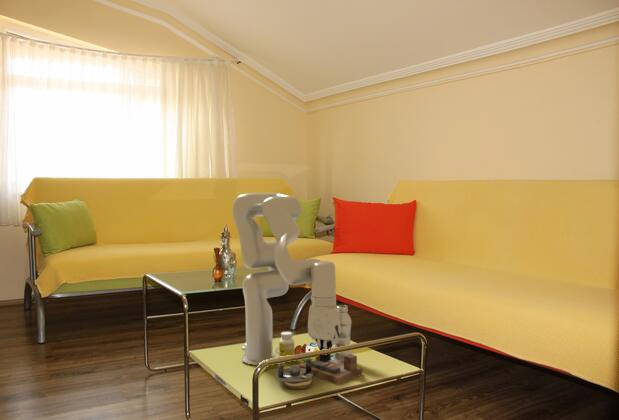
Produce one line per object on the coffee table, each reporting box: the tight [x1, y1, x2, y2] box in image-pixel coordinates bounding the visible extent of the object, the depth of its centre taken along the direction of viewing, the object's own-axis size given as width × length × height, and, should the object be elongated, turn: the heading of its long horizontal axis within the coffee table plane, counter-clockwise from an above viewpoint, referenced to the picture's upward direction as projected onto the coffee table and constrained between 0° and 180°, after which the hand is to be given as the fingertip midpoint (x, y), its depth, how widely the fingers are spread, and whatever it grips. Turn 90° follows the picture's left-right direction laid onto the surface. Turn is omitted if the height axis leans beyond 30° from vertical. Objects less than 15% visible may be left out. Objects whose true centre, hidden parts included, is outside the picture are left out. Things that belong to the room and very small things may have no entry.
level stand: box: [298, 348, 363, 385], centre depth 178 cm, size 18×12×6 cm, turn 45°
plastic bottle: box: [332, 304, 353, 363], centre depth 188 cm, size 6×7×20 cm
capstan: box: [276, 358, 314, 390], centre depth 168 cm, size 12×12×6 cm
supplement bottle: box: [278, 331, 295, 357], centre depth 191 cm, size 5×5×10 cm
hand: (325, 360), depth 165 cm, fingers closed
